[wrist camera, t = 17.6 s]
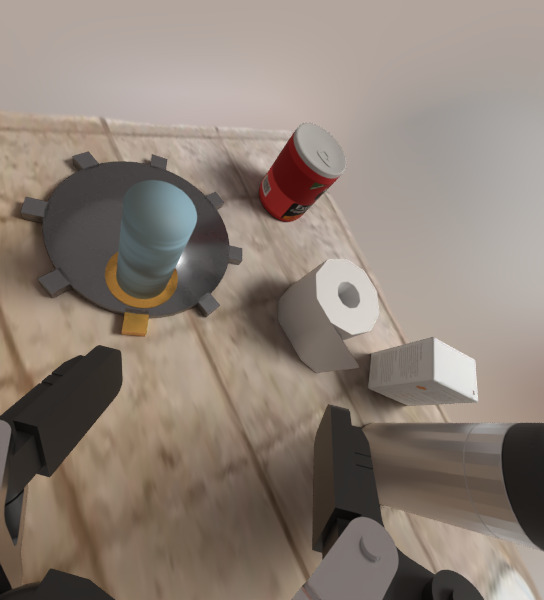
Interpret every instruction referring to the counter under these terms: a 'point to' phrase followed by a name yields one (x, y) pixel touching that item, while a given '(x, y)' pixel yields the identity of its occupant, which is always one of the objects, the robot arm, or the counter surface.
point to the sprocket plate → (106, 235)
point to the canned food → (302, 172)
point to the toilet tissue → (328, 314)
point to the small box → (424, 374)
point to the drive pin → (152, 236)
